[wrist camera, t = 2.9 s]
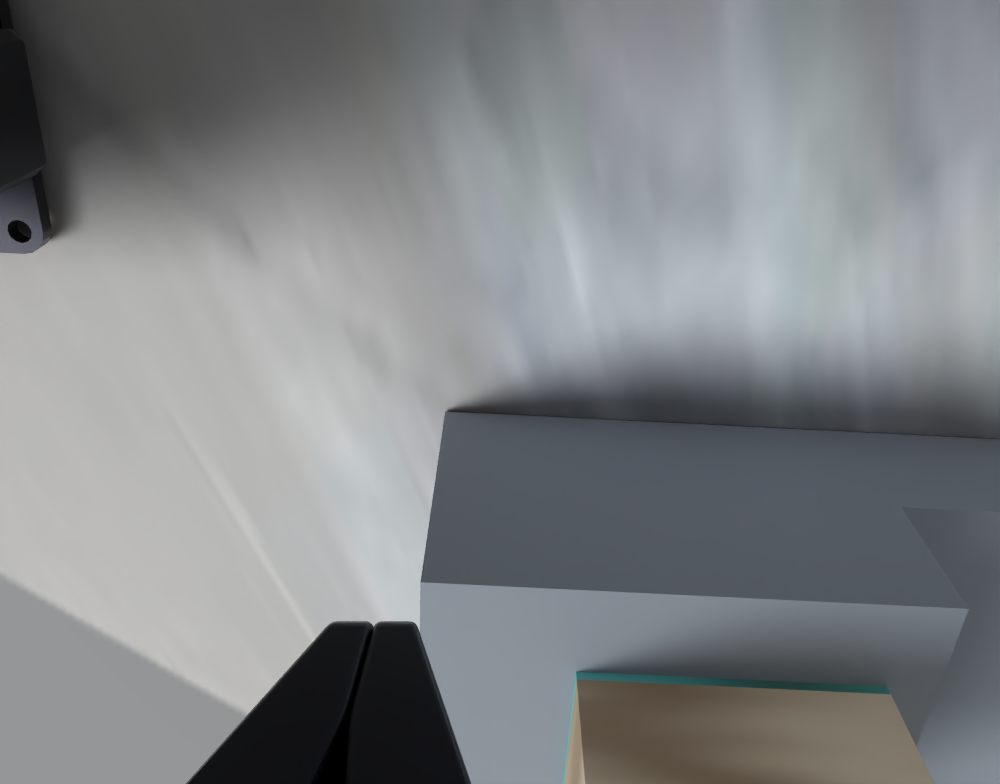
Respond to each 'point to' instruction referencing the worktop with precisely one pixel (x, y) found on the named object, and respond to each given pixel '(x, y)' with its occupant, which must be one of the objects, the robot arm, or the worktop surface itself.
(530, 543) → the slate stair
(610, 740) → the maple cube
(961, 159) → the worktop surface
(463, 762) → the robot arm
